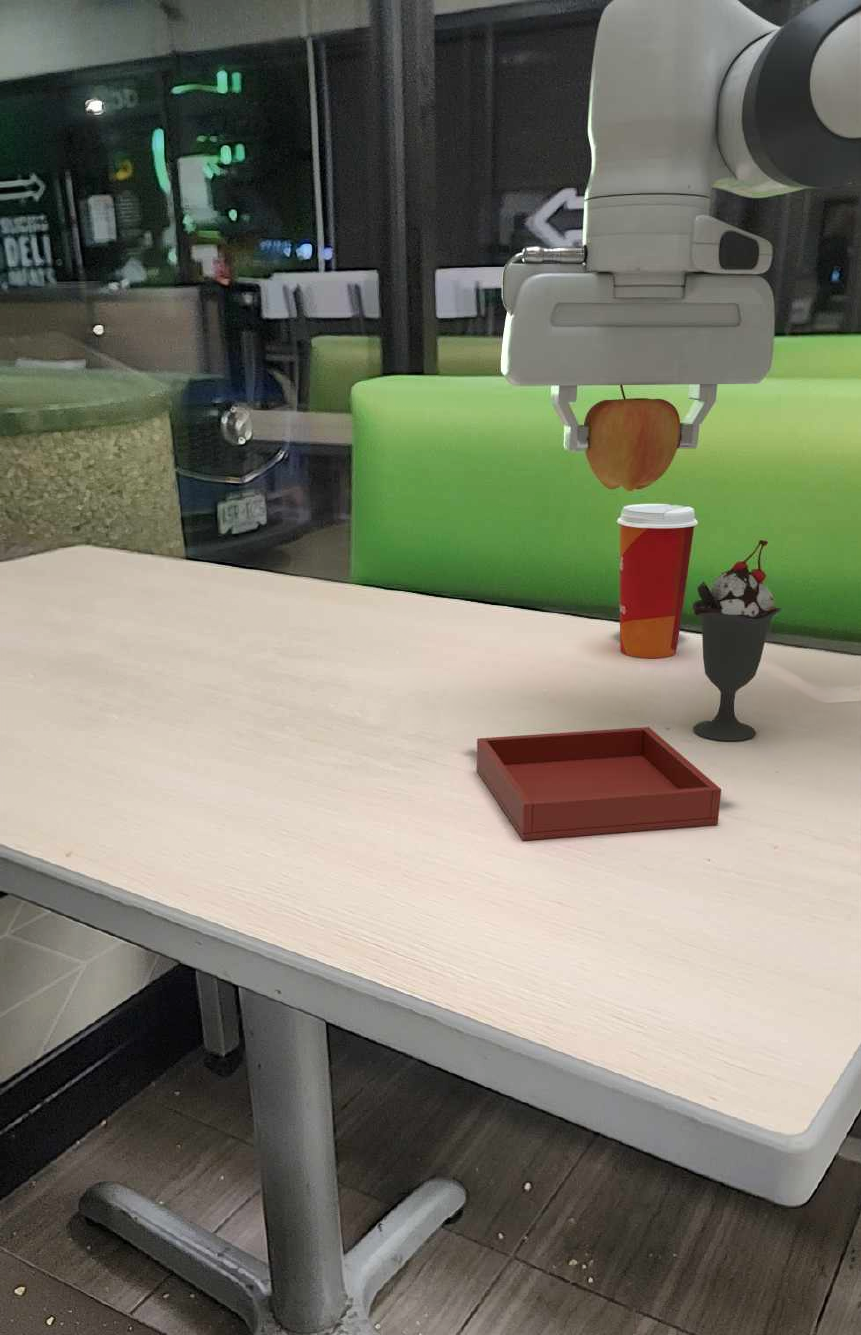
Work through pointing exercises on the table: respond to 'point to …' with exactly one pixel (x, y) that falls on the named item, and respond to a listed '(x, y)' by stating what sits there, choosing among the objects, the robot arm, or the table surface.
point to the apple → (631, 440)
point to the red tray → (595, 783)
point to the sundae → (733, 641)
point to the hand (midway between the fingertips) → (630, 449)
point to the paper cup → (653, 576)
